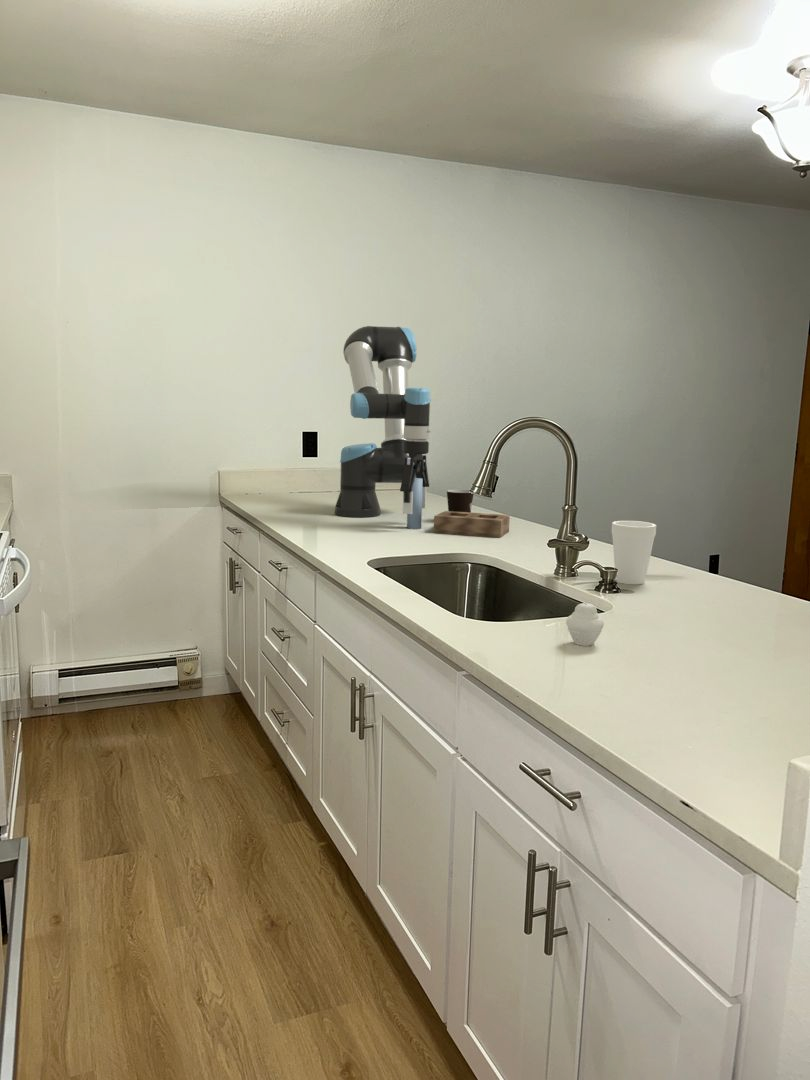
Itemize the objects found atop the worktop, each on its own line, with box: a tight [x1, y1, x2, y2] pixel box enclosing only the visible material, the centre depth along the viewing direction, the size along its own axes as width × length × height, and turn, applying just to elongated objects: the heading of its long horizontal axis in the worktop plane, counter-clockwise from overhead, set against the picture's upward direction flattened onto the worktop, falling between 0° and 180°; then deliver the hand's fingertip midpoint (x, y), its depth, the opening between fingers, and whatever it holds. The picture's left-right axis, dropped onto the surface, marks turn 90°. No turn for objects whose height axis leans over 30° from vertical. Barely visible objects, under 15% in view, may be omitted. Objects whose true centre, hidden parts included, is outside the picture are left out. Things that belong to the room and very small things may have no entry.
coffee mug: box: [446, 489, 474, 513], centre depth 271 cm, size 12×9×10 cm
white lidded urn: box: [565, 602, 605, 647], centre depth 141 cm, size 6×6×7 cm
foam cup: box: [611, 520, 657, 585], centre depth 189 cm, size 10×9×13 cm
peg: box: [406, 478, 423, 530], centre depth 256 cm, size 4×4×15 cm
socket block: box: [433, 510, 511, 539], centre depth 251 cm, size 20×12×5 cm, turn 72°
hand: (414, 510), depth 256 cm, fingers open, 13 cm apart
